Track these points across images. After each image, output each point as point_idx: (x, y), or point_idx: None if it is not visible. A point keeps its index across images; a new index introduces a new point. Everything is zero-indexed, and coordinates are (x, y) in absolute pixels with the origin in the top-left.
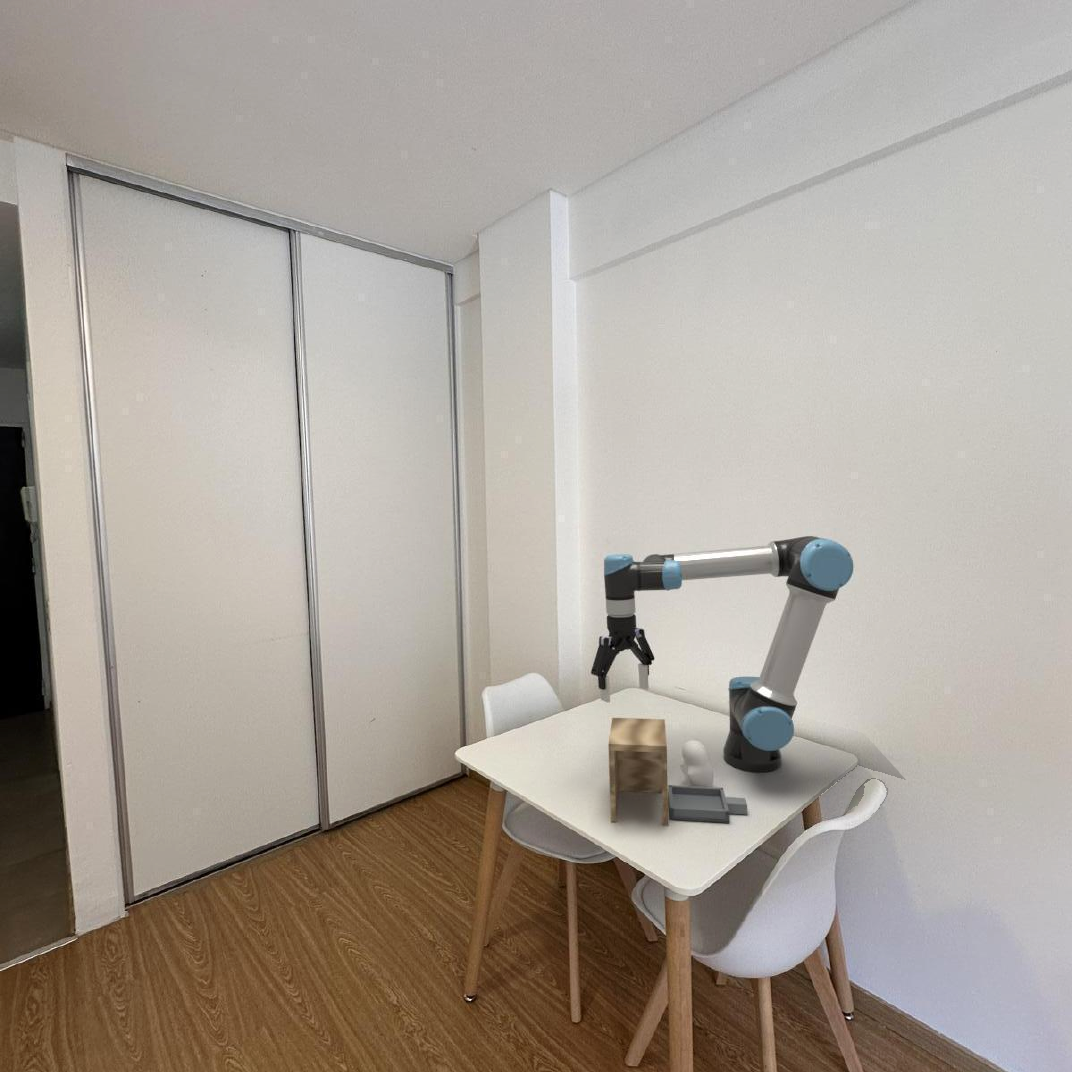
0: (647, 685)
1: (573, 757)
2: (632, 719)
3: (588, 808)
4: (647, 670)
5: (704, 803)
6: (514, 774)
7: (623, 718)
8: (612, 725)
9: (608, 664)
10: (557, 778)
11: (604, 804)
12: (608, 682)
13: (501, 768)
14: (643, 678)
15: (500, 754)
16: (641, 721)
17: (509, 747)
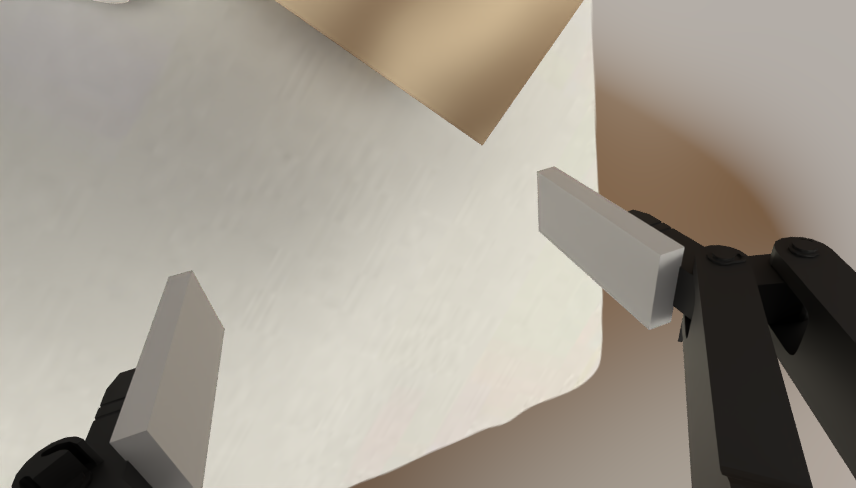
0: (173, 292)
1: (408, 291)
2: (403, 65)
3: None
4: (130, 392)
5: None
6: None
7: (439, 106)
8: (546, 42)
9: (760, 337)
10: (501, 201)
11: None
12: (632, 228)
13: (576, 290)
14: (191, 349)
15: (544, 349)
16: (371, 3)
17: (512, 373)
